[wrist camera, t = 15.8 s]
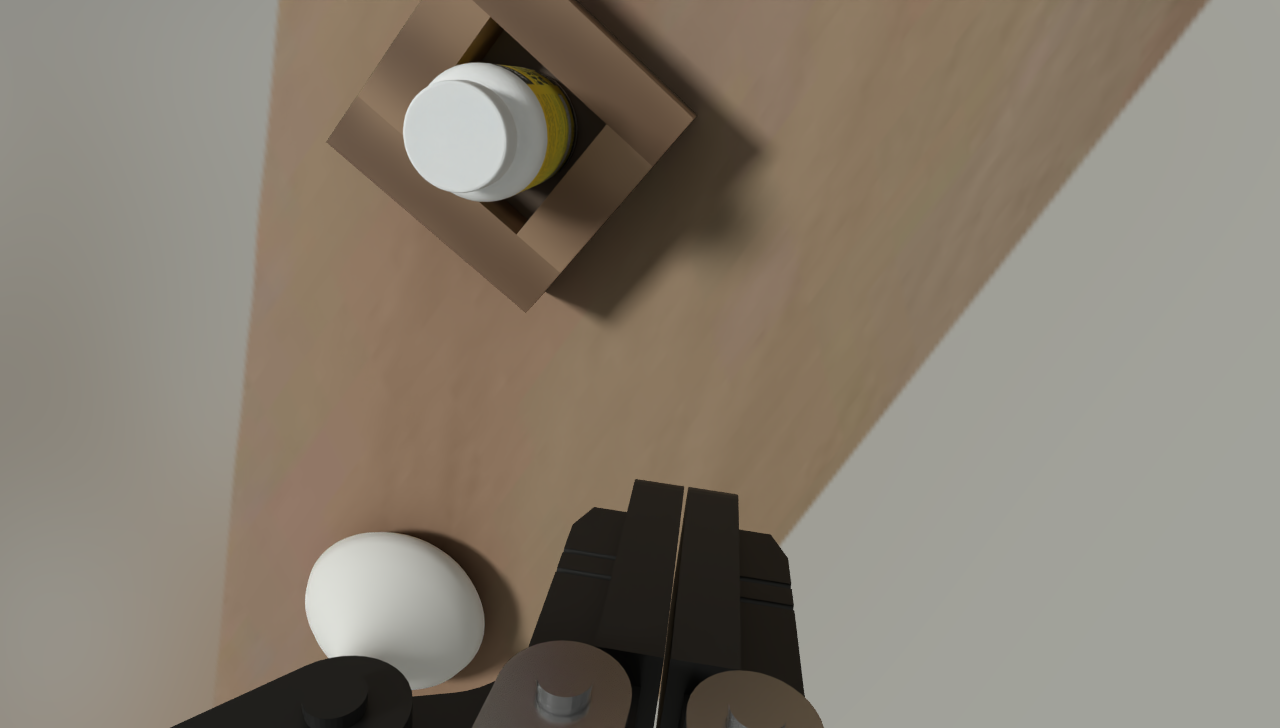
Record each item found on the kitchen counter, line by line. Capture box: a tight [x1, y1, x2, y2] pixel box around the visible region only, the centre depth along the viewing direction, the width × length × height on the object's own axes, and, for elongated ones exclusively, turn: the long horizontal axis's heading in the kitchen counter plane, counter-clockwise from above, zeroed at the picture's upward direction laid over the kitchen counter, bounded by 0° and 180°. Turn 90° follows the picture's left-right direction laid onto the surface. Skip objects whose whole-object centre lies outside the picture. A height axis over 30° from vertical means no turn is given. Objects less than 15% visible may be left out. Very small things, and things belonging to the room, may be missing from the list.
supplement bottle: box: [403, 63, 577, 202], centre depth 32 cm, size 5×5×10 cm
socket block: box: [326, 0, 697, 313], centre depth 36 cm, size 12×12×4 cm
